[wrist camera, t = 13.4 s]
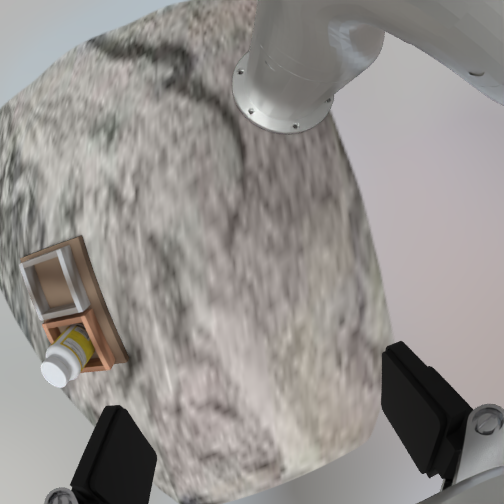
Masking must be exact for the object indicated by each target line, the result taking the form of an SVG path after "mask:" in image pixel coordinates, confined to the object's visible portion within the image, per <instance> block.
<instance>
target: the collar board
mask: <svg viewBox="0 0 504 504" xmlns="http://www.w3.org/2000/svg"><path fill="white" fill-rule="evenodd" d="M20 259H21V264H19V267H20V270H21V273H22V275H23V278H24V281H25V284H26V287H27V289H28V292H29V295H30V297H31V300H32V302H33V305H34V307H35V310H36V312H37V314H38V317H39V319H40V321H42V320H43V321H44V323H43V324H42V326H43V328H44V330H45V332H46V335H47V337H48V339H49V341H50V343H51V344H52V343H53V342H54V341H55V340H56V339H57V338H58V337H59V336H60V335H61V334H62V333H63V331H64V330H65V329H66V328H67V327H68V326H70V325H71V324H76V323H79V324H82V325H84V326H85V328H86V331H87V333H88V335H89V337H90V339H91V341H92V344H93V346H94V348H95V352H94V353H93V355H92V356H91V358H90V359H89V361H88V362H87V364H86V365H85V367H84V368H83V370H82V371H81V373H84V372H94V371H103V370H111V368H112V366H113V364H119V363H126V362H127V361H128V359H129V357H128V355H127V352H126V350H125V348H124V346H123V344H122V342H121V339H120V337H119V335H118V333H117V330H116V328H115V326H114V323H113V321H112V319H111V316H110V314H109V311H108V309H107V306H106V304H105V301H104V299H103V296H102V294H101V291H100V288H99V285H98V283H97V280H96V277H95V274H94V271H93V268H92V266H91V263H90V260H89V256H88V253H87V250H86V247H85V244H84V240H83V237H82V236H79V237H76V238H73V239H71V240H68V241H65V242H62V243H59V244H57V245H54V246H51V247H49V248H46V249H43V250H41V251H38V252H35V253H33V254H30V255H28V256H25V257H23V258H20Z"/></svg>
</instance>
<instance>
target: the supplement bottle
mask: <svg viewBox="0 0 504 504" xmlns="http://www.w3.org/2000/svg"><path fill="white" fill-rule="evenodd" d="M94 352H95V348H94V346H93V344H92V341H91V339H90V337H89V335H88V333H87V331H86V328H85V326H84V325H82V324H79V323H76V324H71V325H70V326H68V327H67V328H66V329H65V330H64V331H63V333H62V334H61V335H60V336H59V337H58V338H57V339H56V340H55V341H54V342H53V343H52V344H51V345H50V347H49V348H48V349H47V351H46V359H45V361H44V362H43V363H42V365H41V372H42V374H43V376H44V377H45V379H46V380H47V381H48V382H49V383H50V384H52V385H53V386H55V387H59V388H62V387H64V386H65V385H66V384H67V383H68V381H69V380H73V379H76V378H77V377H78V376H79V374H80V373H81V371H82V370H83V368H84V367H85V365H86V364H87V362H88V361H89V359H90V358H91V356H92V355H93V353H94Z"/></svg>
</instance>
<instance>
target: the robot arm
mask: <svg viewBox="0 0 504 504" xmlns="http://www.w3.org/2000/svg"><path fill="white" fill-rule="evenodd" d="M385 31H386V32H388V33H390V34H392V35H394V36H395V37H397V38H399V39H401V40H403V41H404V42H406V43H409V44H412V45H414V46H415V47H417V48H419V49H420V50H422V51H423V52H425V53H427V54H428V55H430V56H431V57H433V58H434V59H436V60H438V61H439V62H440V63H442V64H443V65H445V66H446V67H448V68H449V69H450V70H452V71H453V72H455V73H456V74H457V75H459V76H460V77H461V78H463V79H464V80H465V81H467V82H468V83H469V84H471V85H472V86H473V87H475V88H476V89H477V90H479V91H480V92H481V93H483V94H484V95H485V96H487V97H488V98H490V99H491V100H493V101H495V102H497V103H499V104H501V105H503V106H504V0H258V1H257V9H256V15H255V22H254V28H253V34H252V40H251V46H250V51H249V52H247V53H246V54H245V55H244V56H243V57H242V58H241V59H240V60H239V62H238V64H237V66H236V67H235V70H234V73H233V77H232V92H233V96H234V100H235V102H236V104H237V106H238V108H239V110H240V111H241V112H242V114H243V115H244V116H245V117H246V118H247V119H248V120H249V121H250V122H252V123H253V124H255V125H256V126H258V127H260V128H262V129H264V130H267V131H269V132H273V133H278V134H295V133H300V132H303V131H306V130H308V129H310V128H312V127H314V126H315V125H317V124H318V123H320V122H321V121H322V120H323V119H324V118H325V117H326V115H327V114H328V112H329V110H330V109H331V106H332V103H333V100H334V94H335V93H336V92H338V91H339V90H340V89H341V88H343V87H344V86H345V85H346V84H347V83H349V82H350V81H352V80H353V79H354V78H355V77H357V76H358V75H359V74H360V73H362V72H363V71H364V70H365V69H367V68H368V67H369V66H370V65H371V64H372V63H373V62H374V61H375V60H376V58H377V57H378V55H379V53H380V51H381V49H382V45H383V41H384V33H385ZM240 72H241V73H242V75H240V74H238V73H240ZM325 101H327V103H326V102H325ZM249 112H253V115H250V114H249ZM294 125H295V126H296V127H297V128H296V129H294V128H293V126H294ZM381 406H382V410H383V412H384V414H385V415H386V417H387V418H388V420H389V422H390V423H391V425H392V427H393V428H394V430H395V431H396V433H397V435H398V436H399V438H400V439H401V441H402V443H403V445H404V446H405V448H406V449H407V451H408V453H409V454H410V456H411V458H412V459H413V461H414V463H415V464H416V466H417V468H418V469H419V471H420V472H421V473H422V474H424V473H426V474H427V476H428V477H429V478H431V477H433V476H434V475H436V474H438V473H439V475H440V476H441V478H442V479H443V483H442V486H441V490H440V492H439V493H437V494H435V495H433V496H431V497H429V498H427V499H425V500H423V501H421V502H419V503H417V504H504V409H502V408H501V407H500V406H497V405H495V404H485V405H481V406H479V407H477V408H476V409H474V410H473V409H472V408H471V407H470V406H469V404H468V403H467V402H466V401H465V400H464V399H463V398H462V397H461V396H460V395H459V394H458V393H457V392H456V391H455V390H454V389H453V388H452V387H451V386H450V385H449V383H448V382H447V381H446V380H445V379H444V378H442V376H441V375H440V374H439V373H438V372H437V371H436V370H435V369H434V368H432V367H430V366H428V367H427V366H426V365H425V364H424V363H423V362H422V361H421V360H420V359H419V358H418V357H417V356H416V355H415V354H414V353H413V352H412V350H411V349H410V348H408V346H407V345H405V343H404V342H402V341H399V342H397V343H394V344H392V345H389V346H387V347H386V351H385V352H383V353H382V394H381ZM156 462H157V455H156V452H155V451H154V449H153V448H152V447H151V445H150V444H149V442H148V441H147V440H146V438H145V437H144V435H143V434H142V432H141V431H140V429H139V428H138V426H137V425H136V423H135V422H134V420H133V419H132V417H131V416H130V414H129V413H128V411H127V410H126V409H123V407H122V406H120V405H114V406H106V407H105V408H104V410H103V412H102V414H101V416H100V418H99V420H98V422H97V424H96V427H95V429H94V431H93V433H92V435H91V438H90V440H89V442H88V444H87V446H86V449H85V451H84V453H83V455H82V458H81V460H80V462H79V465H78V467H77V469H76V472H75V474H74V477H73V479H72V481H71V484H70V485H71V486H72V490H69V489H67V488H56V489H54V490H52V491H51V492H50V493H49V494H48V495H47V497H46V499H45V503H44V504H148V503H149V497H150V492H151V487H152V482H153V477H154V472H155V467H156Z"/></svg>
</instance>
